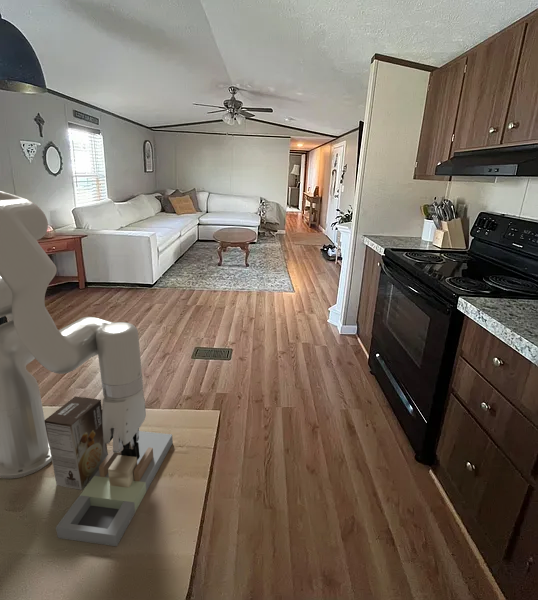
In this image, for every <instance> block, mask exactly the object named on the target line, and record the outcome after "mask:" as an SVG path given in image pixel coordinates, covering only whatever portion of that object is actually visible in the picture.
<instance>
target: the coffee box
mask: <svg viewBox="0 0 538 600" xmlns="http://www.w3.org/2000/svg"><path fill="white" fill-rule="evenodd" d="M44 419H45V420H44V421H45V426H46V432H47V437H48V442H49V447H50V453H51V458H52V461H51V462H52V467H53V468H52V469H53V473H54V478H55V482H56V485H57V486H61V487H64V488H70V489H74V490H80V491H83V490H84V489H85V488H86V486H87V485H88V484H89V482H90V481H91V479H92V478H93V477H94V475H95V474H96V473H97V471H98V470H99V466H100V465H101V463H102V462H103V461H104V459H105V458H106V457H107V455H108V454H109V452H108V444H105V442H104V438H103V427H102V400H101V399H97V398H92V397H82V396H73V398H71V399H70V400H68V401H67V402H66V403H64V405H62V406H61V407H59V409H57V410H56V411H54V412H52V414H50V415H49V416H48V417H47V418H44Z"/></svg>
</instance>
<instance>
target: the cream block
mask: <svg viewBox="0 0 538 600" xmlns="http://www.w3.org/2000/svg"><path fill="white" fill-rule="evenodd" d="M136 466H137V457H131V456H122V455H118V456H117V457H116V459H115V460H114V461H113V463H112V464H111V466H110V467H109V469H108V473H109V482H110V485H111V486H119V487H128V488H129V487H130V485H131V484H132V482H133V480H134V470H135V468H136Z"/></svg>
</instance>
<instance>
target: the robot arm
mask: <svg viewBox="0 0 538 600" xmlns="http://www.w3.org/2000/svg"><path fill="white" fill-rule="evenodd" d="M48 229H49V223H48V219H47V216H46V214H45V212H44V211H43V210H42V209H41V207H40V206H38V205H37V204H35V202H33V201H31V200H29V199H27V198H24V197H21V196H18V195H15V194H11V193H8V192H5V191H1V190H0V319H1V318H4V317H6V318H7V319H8V322H5V323H2V324H0V479H17V478H23V477H25V476H28V475H32V474H34V473H36V472H38V471H40V470H42V469H43V468H45V467H46V466H47V465H49V464H50V463H51V462H52V458H51V453H50V447H49V442H48V437H47V432H46V426H45V421H44V420H45V419H46V418H45V414H44V413H45V412H44V408H43V402H42V397H41V392H40V387H39V383H38V381H37V379H36V377H35V376H34V375H33V374H32V373H31V372H30V371H28V369H27V365H29V364H30V363H31V362H33V361H34V360H36V361H37V362H38V363H39V365H41V366H42V367H44V368H45V369H46V370H47V371H50V372H51V373H55V374H59V375H62V374H63V375H64V374H68V373H71V372H73V371H75V370H76V369H78V368H79V367H81V366H82V365H83V364H85V363H86V362H88V360H90V359H91V358H93V357H97V358H98V364H99V371H100V379H101V389H102V394H103V399H102V404H101V406H102V427H103V438H104V442H105V444H107V445H108V444H110V443H111V442H112V449H113V452H114V453H120V452H121V455H122V456H131V457H137V460H138V459H139V457H140V454H139V444H138V440H139V431H140V430H139V429H140V428H141V426H142V424H143V423H144V422H145V421H146V420H145V419H146V417H147V410H146V409H147V408H146V401H145V394H144V384H143V383H144V382H143V381H144V380H143V372H142V369H143V368H142V359H141V358H142V357H141V351H140V350H141V348H140V347H141V346H140V339H139V338H140V337H139V330H138V328H137V327H136V326H135V325H134V324H133V323H131V322H127V321H126V322H123V321H121V322H120V321H117V322H113V321H110V320H106V319H103V318H99V317H94V316H84V317H81V318H79V319H77V320H75V321H74V322H72V323H70V324H69V325H66V326H64V327H63V328H61V329H58V327H57V325H56V323H55V321H54V319H53V318H52V316H51V314H50V313H49V311H48V309H47V307H46V303H45V301H46V299H45V298H46V297H45V296H46V292H47V289H48V288H49V284H50V283H51V282H52V280H53V279H54V278H55V276H56V274H57V266H56V265H55V263H54V261H52V259H51V258H50V256H49V255H48V254H47V253H46V251H45V250H44V249H43V248H42V246H41V244H40V243H39V242H38V240H41V239H42V238H43V237H45V235H46V234H47V232H48Z"/></svg>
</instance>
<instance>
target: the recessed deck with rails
mask: <svg viewBox="0 0 538 600" xmlns="http://www.w3.org/2000/svg"><path fill="white" fill-rule="evenodd" d="M138 444H139V454H140V457H139V459H138V460H137V466H136V468H135V470H134V480H133V482H132V484H131V485H130V487H129V488H128V487H119V486H111V485H110V482H109V473H108V469H109V467H110V466H111V464H112V463H113V461H114V460H115V459H116V457H117V456H118V455H121V452H120V453H114V452H113V448H111V450H110V451H109V452H108V455H107V457H106V458H105V459H104V461H103V462H102V463H101V465H100V466H99V470H98V471H97V473H96V474H95V475H94V477H93V478H92V479H91V481H90V482H89V483H88V484H87V485H86V487H85V488H84V489H83V490H82V492H81V493H80V494H79V495H78V497H77V498H76V499H75V500H74V502H73V503H72V505H71V506H70V507H69V509H68V510H67V511H66V513H65V515H64V516H63V517H62V518H61V520H60V521H59V522H58V524H57V525H56V526H55V531H56V534H57V538H58V539H62V540H68V541H69V540H70V541H78V542H84V543H89V544H90V543H92V544H99V545H106V546H113V547H118V546H119V543H120V541H121V540H122V538H123V536H124V534H125V532H126V530H127V529H128V527H129V525H130V523H131V521H132V519H133V517H134V516H135V514H136V512H137V510H138V508H139V507H140V504H141V503H142V501H143V499H144V497H145V495H146V494H147V492H148V490H149V488H150V486H151V484H152V482H153V480H154V479H155V477H156V475H157V473H158V472H159V469H160V468H161V466H162V464H163V462H164V460H165V458H166V456H167V455H168V453H169V451H170V449H171V447H172V445H173V444H174V443H173V434H171V433H170V434H169V433H161V432H151V431H145V430H143V431H142V430H139V440H138Z"/></svg>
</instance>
